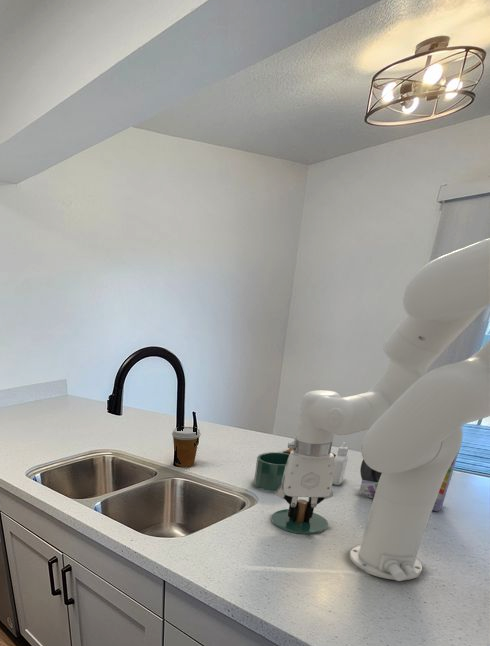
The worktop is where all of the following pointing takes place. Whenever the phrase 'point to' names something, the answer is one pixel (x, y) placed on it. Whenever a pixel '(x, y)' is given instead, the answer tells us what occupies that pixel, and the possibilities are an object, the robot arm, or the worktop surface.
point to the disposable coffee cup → (185, 445)
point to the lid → (299, 520)
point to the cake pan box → (372, 476)
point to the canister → (270, 470)
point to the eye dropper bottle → (340, 464)
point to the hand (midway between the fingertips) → (299, 519)
